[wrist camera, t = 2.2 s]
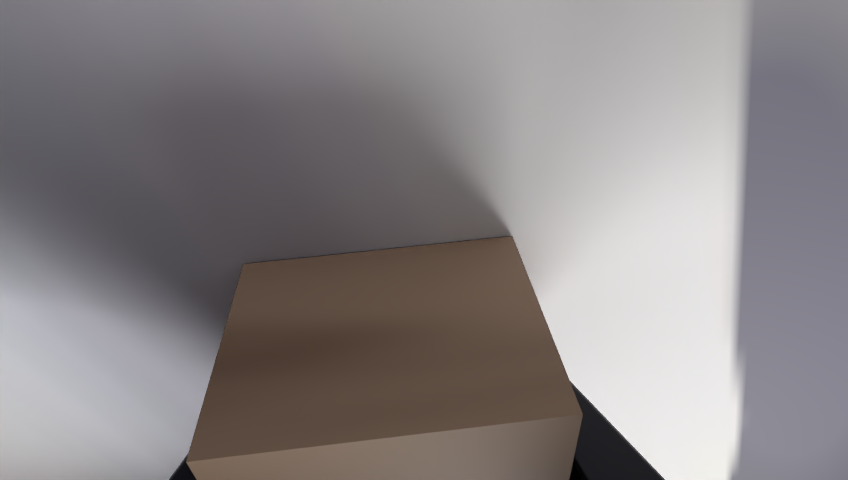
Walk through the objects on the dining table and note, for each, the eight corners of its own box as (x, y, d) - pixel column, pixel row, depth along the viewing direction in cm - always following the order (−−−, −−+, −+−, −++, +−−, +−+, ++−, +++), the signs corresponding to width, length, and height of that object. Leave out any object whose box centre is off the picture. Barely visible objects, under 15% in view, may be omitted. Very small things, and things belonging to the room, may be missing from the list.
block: (503, 400, 11) (549, 576, 9) (298, 424, 11) (277, 612, 8) (512, 235, 9) (582, 415, 6) (243, 264, 9) (186, 462, 6)
